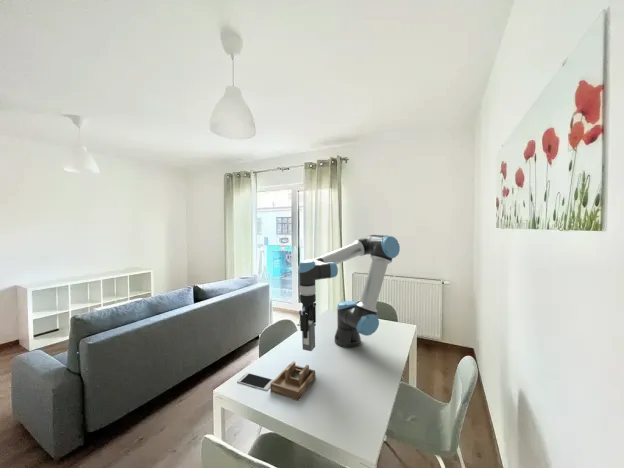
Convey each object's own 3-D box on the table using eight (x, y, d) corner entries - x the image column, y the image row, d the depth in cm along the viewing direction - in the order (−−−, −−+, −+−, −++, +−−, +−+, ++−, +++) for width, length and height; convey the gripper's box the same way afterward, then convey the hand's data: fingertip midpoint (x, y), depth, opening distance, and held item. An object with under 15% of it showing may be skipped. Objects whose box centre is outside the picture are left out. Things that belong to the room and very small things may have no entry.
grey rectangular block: (306, 345, 126) (306, 319, 125) (315, 346, 124) (314, 320, 123) (302, 349, 122) (301, 322, 121) (311, 351, 120) (310, 324, 119)
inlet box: (290, 371, 120) (289, 358, 120) (315, 378, 115) (315, 365, 114) (270, 391, 106) (270, 377, 105) (298, 400, 100) (298, 386, 100)
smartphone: (267, 392, 106) (267, 389, 106) (236, 383, 112) (236, 381, 112) (275, 382, 113) (275, 380, 113) (246, 374, 119) (246, 372, 119)
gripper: (308, 288, 131) (309, 332, 132) (291, 298, 115) (292, 348, 116) (322, 289, 127) (323, 335, 129) (306, 299, 112) (307, 352, 113)
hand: (308, 341), depth 122 cm, fingers closed on grey rectangular block, 4 cm apart
